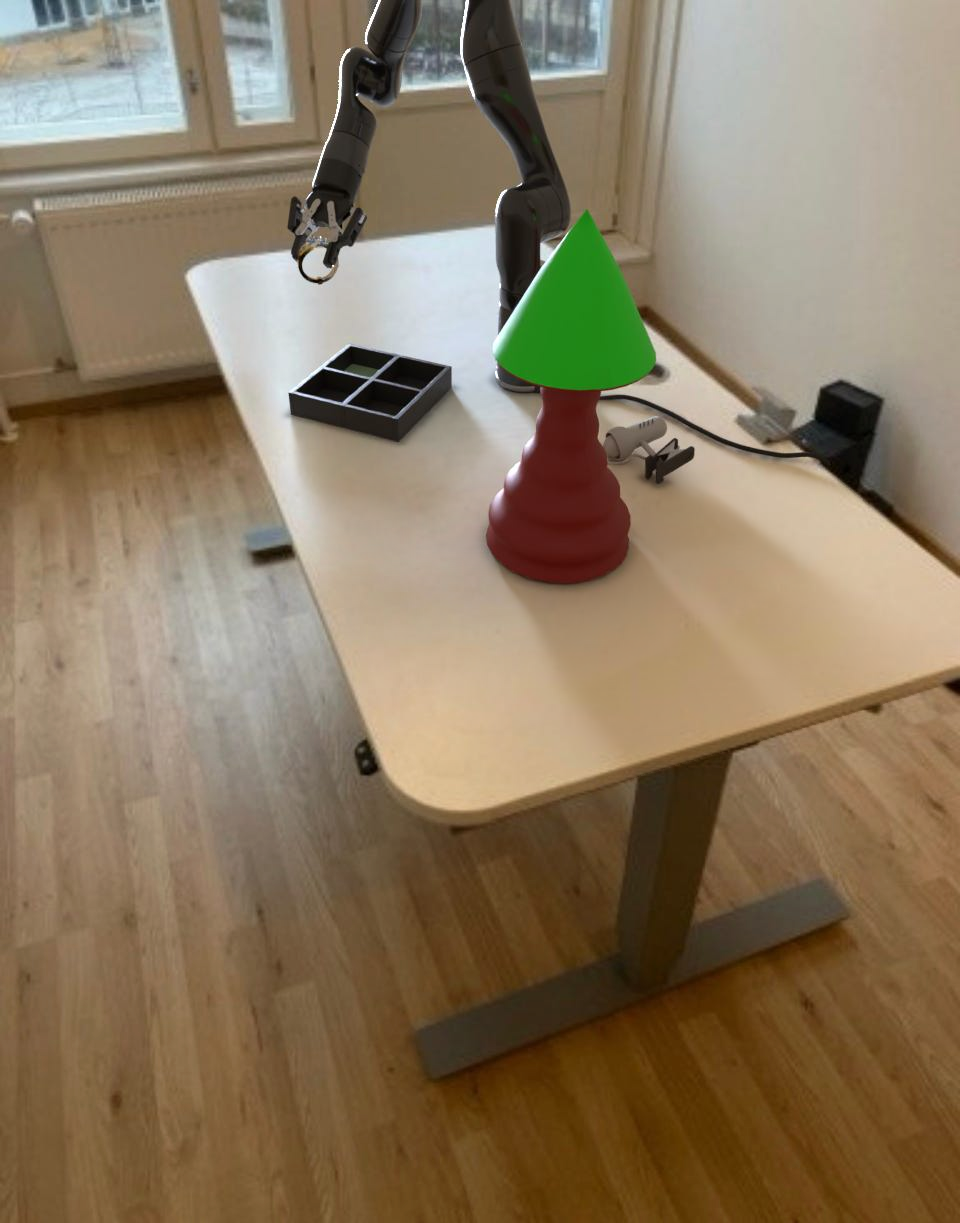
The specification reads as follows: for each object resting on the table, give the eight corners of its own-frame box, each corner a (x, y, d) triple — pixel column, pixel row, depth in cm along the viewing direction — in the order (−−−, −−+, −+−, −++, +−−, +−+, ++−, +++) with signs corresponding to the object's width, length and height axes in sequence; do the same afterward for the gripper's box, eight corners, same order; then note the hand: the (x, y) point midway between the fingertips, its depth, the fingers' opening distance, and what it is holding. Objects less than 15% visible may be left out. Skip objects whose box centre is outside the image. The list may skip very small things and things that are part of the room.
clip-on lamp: (594, 515, 145) (698, 469, 147) (592, 484, 140) (699, 437, 143) (558, 469, 152) (657, 426, 155) (554, 438, 147) (657, 395, 150)
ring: (338, 278, 169) (334, 231, 163) (341, 285, 166) (337, 238, 161) (298, 281, 167) (293, 235, 162) (301, 289, 165) (296, 242, 160)
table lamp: (541, 605, 124) (570, 255, 95) (458, 528, 136) (461, 197, 107) (658, 555, 133) (717, 220, 103) (570, 487, 145) (600, 170, 115)
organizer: (451, 388, 168) (451, 366, 165) (398, 442, 154) (397, 419, 151) (350, 364, 173) (349, 343, 171) (290, 414, 159) (288, 392, 157)
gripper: (294, 150, 162) (264, 245, 161) (370, 162, 158) (339, 260, 157) (314, 174, 169) (285, 266, 169) (387, 186, 165) (357, 280, 164)
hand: (311, 262), depth 163 cm, fingers closed on ring, 5 cm apart
